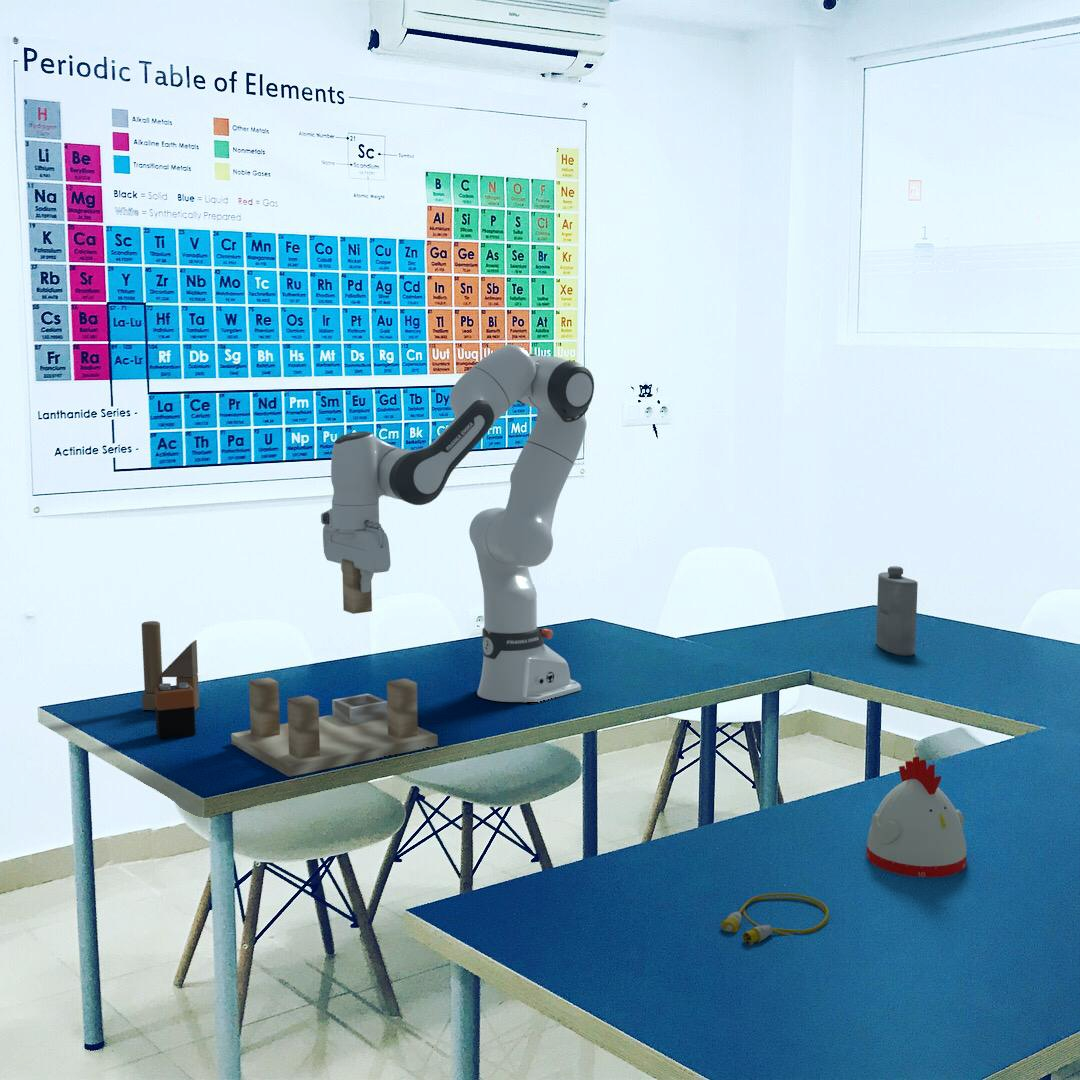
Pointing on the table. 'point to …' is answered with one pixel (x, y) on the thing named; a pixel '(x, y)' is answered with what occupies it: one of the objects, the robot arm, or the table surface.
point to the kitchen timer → (917, 827)
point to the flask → (896, 612)
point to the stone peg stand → (331, 728)
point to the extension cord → (765, 930)
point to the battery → (175, 710)
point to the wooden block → (180, 667)
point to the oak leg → (354, 590)
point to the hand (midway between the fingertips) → (357, 589)
